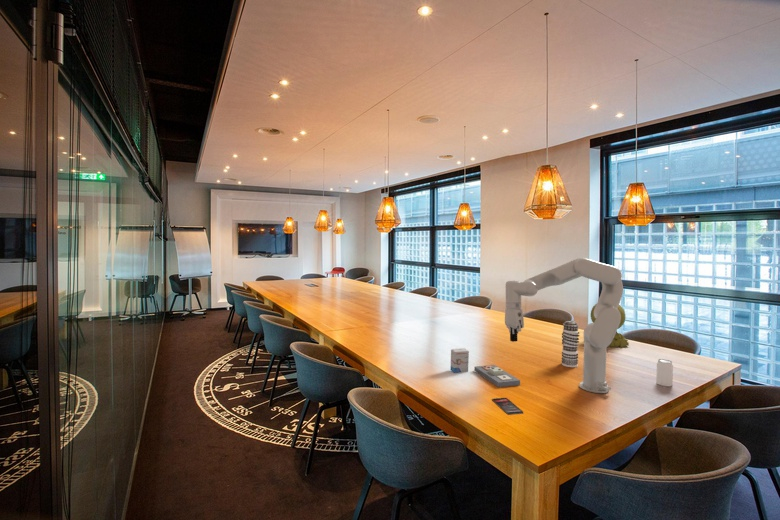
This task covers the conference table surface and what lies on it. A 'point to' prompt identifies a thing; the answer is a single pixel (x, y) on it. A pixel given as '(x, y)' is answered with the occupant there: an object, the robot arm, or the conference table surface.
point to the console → (494, 379)
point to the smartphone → (507, 406)
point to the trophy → (618, 338)
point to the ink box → (459, 360)
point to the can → (664, 373)
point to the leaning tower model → (570, 344)
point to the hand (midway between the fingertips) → (513, 341)
